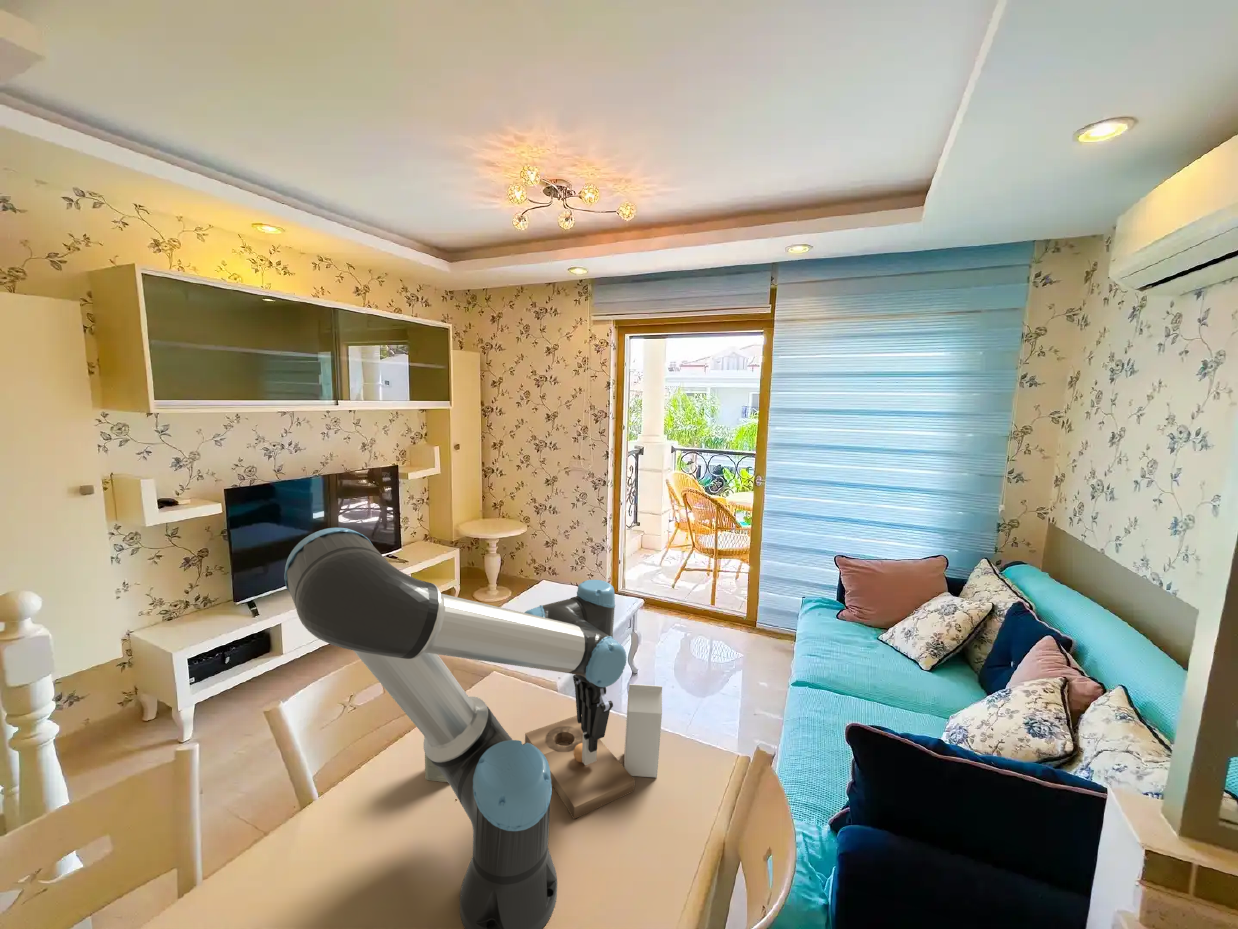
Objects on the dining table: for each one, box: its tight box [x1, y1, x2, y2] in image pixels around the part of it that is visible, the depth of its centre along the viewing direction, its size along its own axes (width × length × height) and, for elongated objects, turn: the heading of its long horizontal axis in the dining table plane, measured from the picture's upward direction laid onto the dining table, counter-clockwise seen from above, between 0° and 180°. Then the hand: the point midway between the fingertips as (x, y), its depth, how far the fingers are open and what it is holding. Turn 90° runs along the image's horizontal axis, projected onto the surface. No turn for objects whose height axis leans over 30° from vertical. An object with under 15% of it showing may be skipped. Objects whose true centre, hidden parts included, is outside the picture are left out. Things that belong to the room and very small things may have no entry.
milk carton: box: [623, 683, 663, 778], centre depth 109 cm, size 7×7×19 cm
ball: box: [574, 743, 583, 762], centre depth 107 cm, size 4×4×4 cm
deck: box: [524, 715, 636, 820], centre depth 109 cm, size 24×14×2 cm, turn 33°
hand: (589, 761), depth 105 cm, fingers closed
